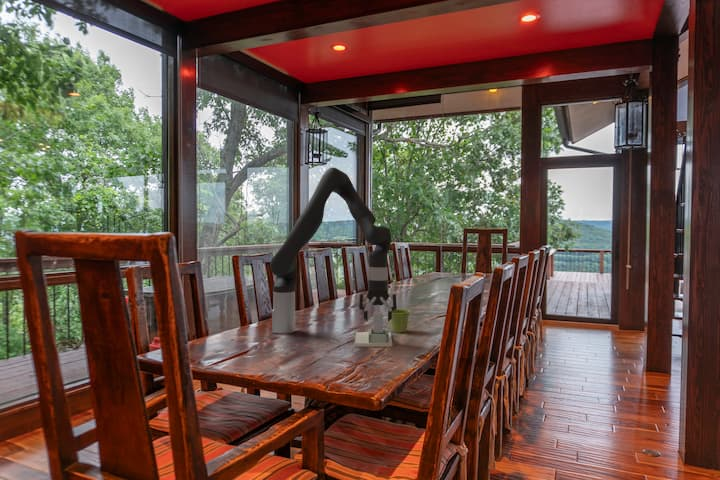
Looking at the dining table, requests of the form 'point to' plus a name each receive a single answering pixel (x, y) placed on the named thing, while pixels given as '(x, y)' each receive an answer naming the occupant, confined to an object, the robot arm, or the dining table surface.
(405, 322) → the plant pot
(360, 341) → the beige rectangular tray
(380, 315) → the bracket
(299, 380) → the dining table surface
